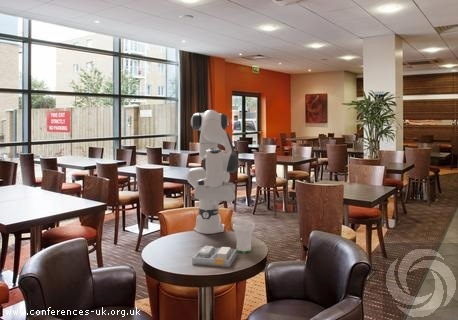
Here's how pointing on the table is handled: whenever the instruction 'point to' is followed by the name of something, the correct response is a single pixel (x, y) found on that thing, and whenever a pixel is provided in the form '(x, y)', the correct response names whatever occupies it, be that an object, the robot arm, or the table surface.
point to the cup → (243, 235)
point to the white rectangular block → (224, 253)
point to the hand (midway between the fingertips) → (214, 208)
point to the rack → (212, 257)
